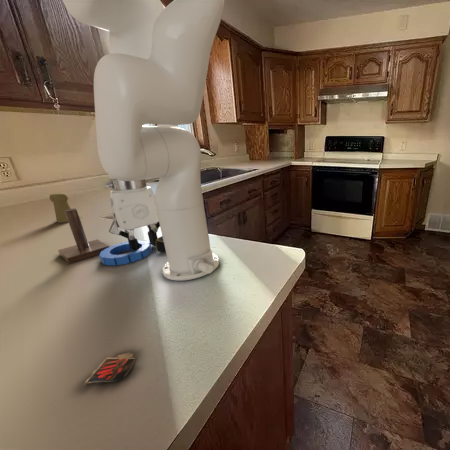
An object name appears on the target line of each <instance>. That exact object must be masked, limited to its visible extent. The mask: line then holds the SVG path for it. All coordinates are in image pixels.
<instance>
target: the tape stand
mask: <svg viewBox="0 0 450 450" xmlns="http://www.w3.org/2000/svg"><path fill="white" fill-rule="evenodd" d="M65 214H66V217H67V219H68V222H67V223H68V225H69V228H70V230H71V234H72V236H73V239H74V243H75V245H72V246H68V247H64V248H61V249H58V250H57V252H58V254H59V256H60V257H61V258H62V259H64V260H65V261H66V262H67V263H68V264H72V263H76V262H79V261H82V260H85V259H88V258H89V259H90V258H92V257H95V256H99V254H100V253H101V251H103V250H104V249H106V248H108V247H110V246H109V244H106V243H105V242H103V241H101V240H99V239H97V238H96V239H93V240H90V241H88V238H87V235H86V232H85V229H84V227H83V223H82V221H81V218H80V217H81V216H80V215H79V211H78V209H77V208H72V209H68V210H65Z"/></svg>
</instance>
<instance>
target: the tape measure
mask: <svg viewBox="0 0 450 450" xmlns="http://www.w3.org/2000/svg"><path fill="white" fill-rule="evenodd" d="M157 238H158V239H157V240H156V242H155V245H156V246H155V249H156V250H157V252H158V253H160V254H161V253H162V254H166V250H165V245H164V241H163V237H162V235H161V236H159V237H157Z"/></svg>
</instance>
